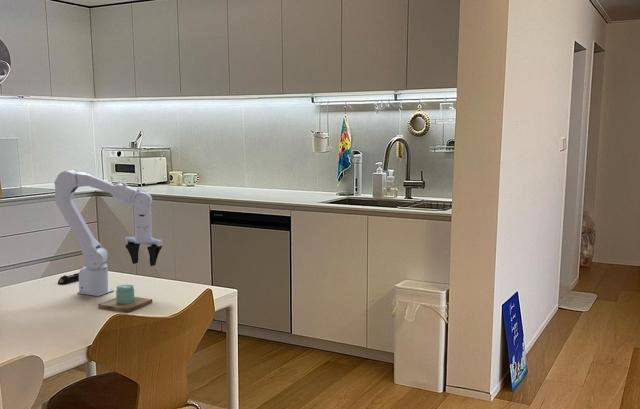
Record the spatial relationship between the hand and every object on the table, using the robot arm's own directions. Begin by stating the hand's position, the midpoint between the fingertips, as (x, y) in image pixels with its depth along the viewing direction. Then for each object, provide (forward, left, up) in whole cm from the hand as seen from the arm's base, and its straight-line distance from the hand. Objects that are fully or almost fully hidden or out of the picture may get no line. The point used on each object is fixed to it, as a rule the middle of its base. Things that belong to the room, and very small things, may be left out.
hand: (144, 264), depth 213 cm
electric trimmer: (-33, +3, -10) cm, 35 cm away
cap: (+5, -16, -9) cm, 19 cm away
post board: (+5, -16, -10) cm, 19 cm away
